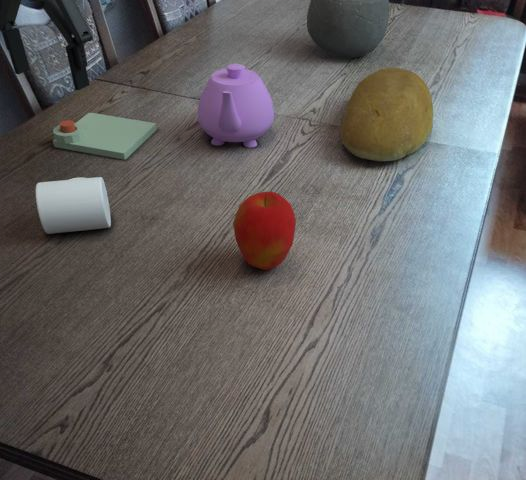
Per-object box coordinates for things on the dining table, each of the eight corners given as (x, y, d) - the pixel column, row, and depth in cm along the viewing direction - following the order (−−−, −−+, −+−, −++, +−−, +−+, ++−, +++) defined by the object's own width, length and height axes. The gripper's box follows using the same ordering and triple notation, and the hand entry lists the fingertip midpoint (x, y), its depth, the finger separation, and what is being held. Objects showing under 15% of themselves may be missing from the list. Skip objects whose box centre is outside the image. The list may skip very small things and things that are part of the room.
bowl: (291, 56, 147) (294, -9, 136) (327, 35, 159) (332, -26, 148) (363, 73, 139) (372, 5, 128) (395, 49, 151) (406, -15, 141)
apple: (254, 239, 89) (254, 170, 80) (304, 256, 86) (309, 187, 77) (223, 269, 84) (219, 199, 75) (275, 289, 80) (277, 218, 72)
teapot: (267, 166, 106) (268, 92, 96) (187, 161, 107) (180, 88, 97) (278, 117, 121) (280, 49, 111) (208, 113, 122) (204, 45, 112)
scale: (51, 147, 110) (47, 133, 108) (89, 118, 120) (86, 104, 117) (124, 160, 107) (121, 146, 105) (157, 129, 116) (155, 115, 114)
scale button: (58, 132, 109) (56, 125, 108) (66, 126, 111) (64, 119, 110) (70, 134, 108) (68, 127, 107) (78, 128, 110) (76, 121, 109)
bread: (332, 164, 106) (337, 112, 99) (353, 93, 130) (359, 48, 123) (428, 176, 104) (441, 124, 96) (432, 101, 127) (443, 55, 120)
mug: (111, 237, 89) (101, 193, 83) (47, 243, 88) (33, 199, 82) (110, 198, 97) (101, 155, 92) (52, 204, 96) (39, 161, 90)
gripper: (97, -72, 76) (123, 86, 92) (-28, -89, 85) (15, 58, 100) (59, -62, 72) (93, 102, 87) (-70, -82, 80) (-18, 72, 95)
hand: (52, 79), depth 94 cm, fingers open, 13 cm apart
